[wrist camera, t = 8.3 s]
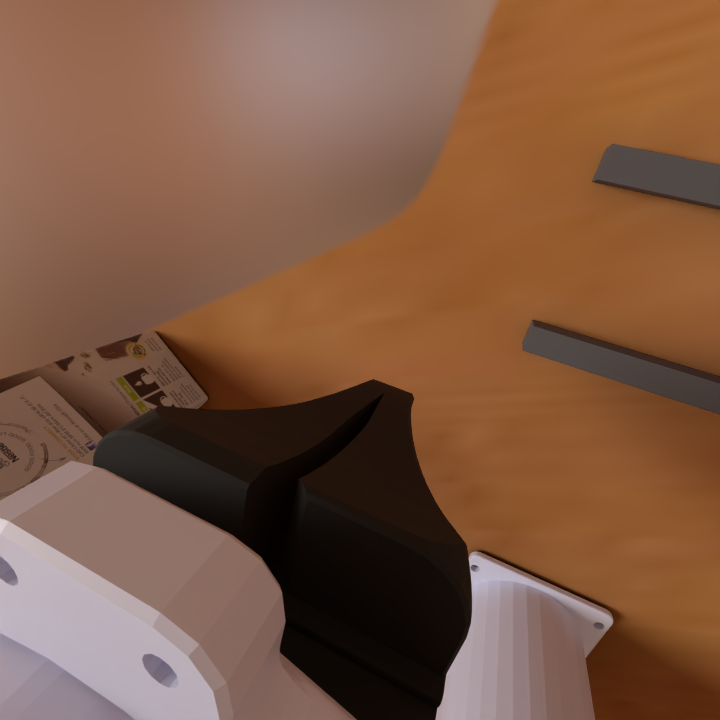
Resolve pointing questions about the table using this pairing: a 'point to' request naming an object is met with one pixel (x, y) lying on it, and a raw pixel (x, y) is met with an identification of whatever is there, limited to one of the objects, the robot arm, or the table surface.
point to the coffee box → (84, 404)
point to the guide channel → (616, 362)
